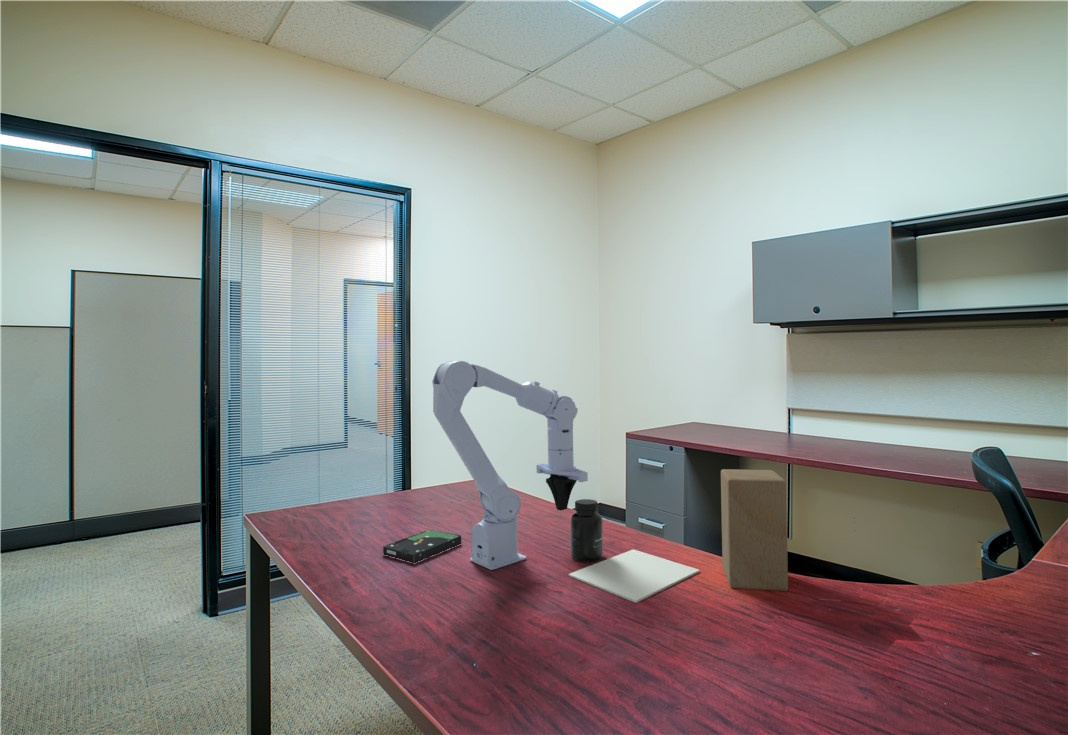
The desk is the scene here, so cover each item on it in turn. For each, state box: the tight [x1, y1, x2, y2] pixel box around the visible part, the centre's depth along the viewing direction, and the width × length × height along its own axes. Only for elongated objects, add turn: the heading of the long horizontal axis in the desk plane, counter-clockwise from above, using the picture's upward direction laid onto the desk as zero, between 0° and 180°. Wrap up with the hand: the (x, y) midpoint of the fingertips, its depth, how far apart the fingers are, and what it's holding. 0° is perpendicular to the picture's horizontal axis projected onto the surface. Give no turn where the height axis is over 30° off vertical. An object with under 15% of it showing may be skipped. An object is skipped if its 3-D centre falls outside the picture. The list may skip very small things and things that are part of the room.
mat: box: [568, 548, 701, 604], centre depth 106 cm, size 20×16×1 cm
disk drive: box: [382, 528, 462, 563], centre depth 123 cm, size 10×3×15 cm
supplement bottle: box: [570, 498, 604, 563], centre depth 116 cm, size 7×7×12 cm
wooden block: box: [720, 468, 789, 592], centre depth 103 cm, size 10×10×20 cm
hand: (561, 509), depth 122 cm, fingers closed
